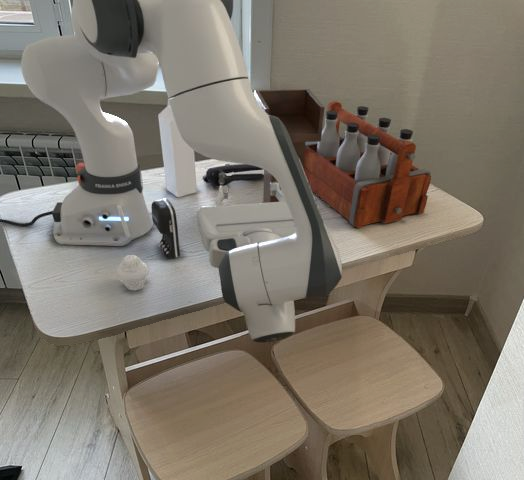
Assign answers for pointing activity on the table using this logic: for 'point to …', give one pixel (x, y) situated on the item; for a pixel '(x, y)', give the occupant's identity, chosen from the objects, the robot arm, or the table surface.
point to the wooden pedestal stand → (292, 122)
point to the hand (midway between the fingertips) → (248, 186)
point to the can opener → (219, 177)
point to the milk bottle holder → (365, 169)
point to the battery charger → (166, 227)
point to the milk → (176, 157)
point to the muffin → (132, 272)
